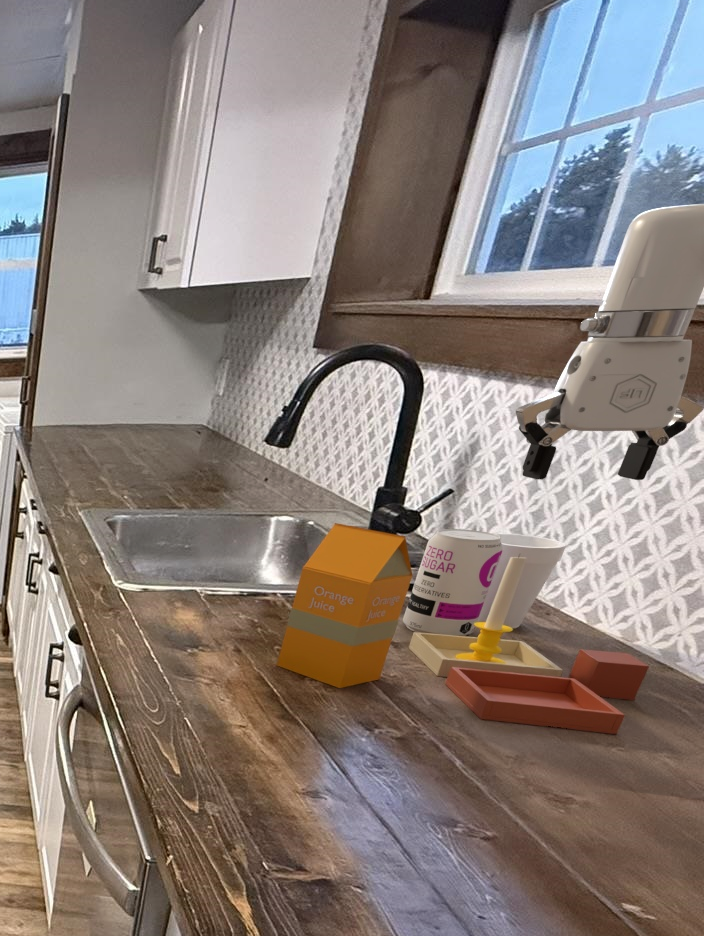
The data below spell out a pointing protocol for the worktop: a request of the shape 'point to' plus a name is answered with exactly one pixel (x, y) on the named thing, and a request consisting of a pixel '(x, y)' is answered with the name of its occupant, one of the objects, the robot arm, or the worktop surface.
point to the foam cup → (523, 573)
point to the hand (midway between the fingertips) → (581, 477)
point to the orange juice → (347, 606)
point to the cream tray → (444, 648)
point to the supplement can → (453, 582)
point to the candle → (496, 616)
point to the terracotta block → (609, 673)
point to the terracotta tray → (533, 700)
